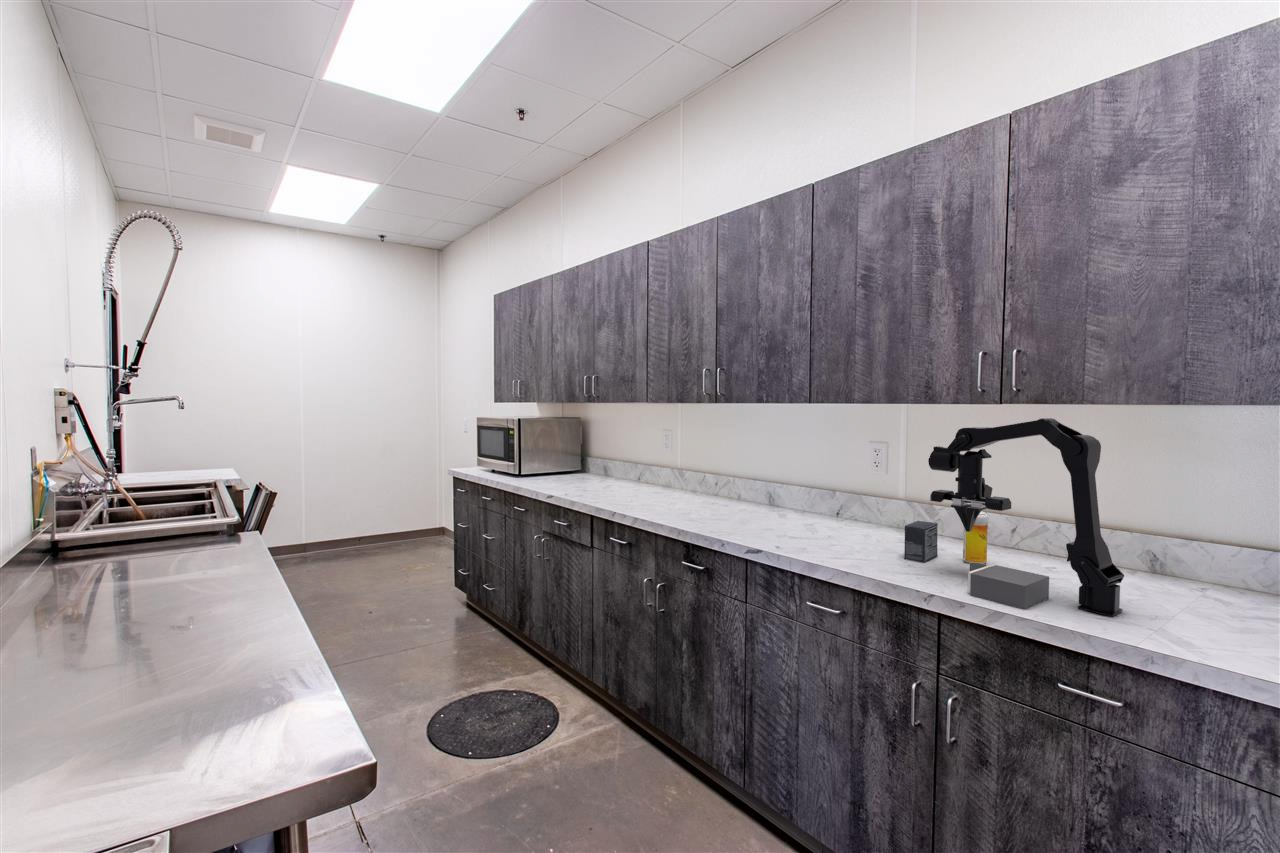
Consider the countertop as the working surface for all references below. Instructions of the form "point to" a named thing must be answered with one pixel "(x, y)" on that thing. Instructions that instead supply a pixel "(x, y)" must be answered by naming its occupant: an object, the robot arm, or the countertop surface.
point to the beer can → (976, 541)
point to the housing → (1010, 586)
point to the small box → (921, 541)
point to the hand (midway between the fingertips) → (968, 531)
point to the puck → (976, 566)
